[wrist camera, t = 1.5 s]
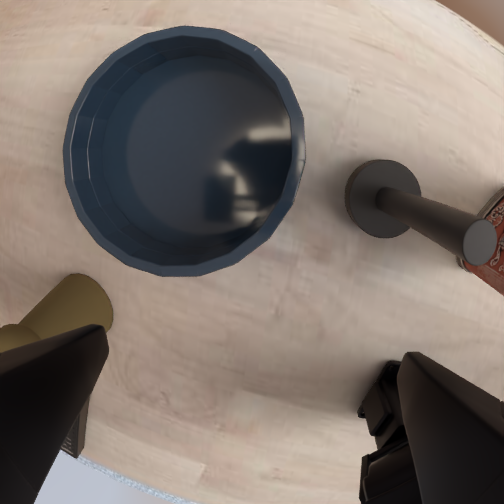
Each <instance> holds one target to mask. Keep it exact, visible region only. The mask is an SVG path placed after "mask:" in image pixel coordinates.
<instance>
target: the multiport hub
mask: <svg viewBox="0 0 504 504" xmlns="http://www.w3.org/2000/svg"><path fill="white" fill-rule="evenodd" d="M89 397H90V396H89ZM88 405H89V398H88V400H87V402H86V403H85V405H84V407H83V409H82V410H81V412H80V414H79V416H78V418H77V419H76V421H75V423H74V425H73V427H72V429H71V430H70V432H69V434H68V436H67V438H66V440H65V442H64V443H63V445H62V447H61V450H63V451H64V452H66V453H67V454H69V455H71V456H72V457H74V458H76V459H77V458H78V456H79V455H80V453H81V451H82V450H83V448H84V441H85V430H86V421H87V413H88Z"/></svg>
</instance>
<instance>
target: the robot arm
mask: <svg viewBox="0 0 504 504" xmlns="http://www.w3.org/2000/svg"><path fill="white" fill-rule="evenodd" d="M108 354H109V345H108V340H107V335H106V330H105V328H104V327H103V326H102V325H97V324H89V325H86V326H83V327H80V328H77V329H73V330H70V331H67V332H64V333H61V334H58V335H55V336H52V337H48V338H45V339H42V340H39V341H36V342H33V343H29V344H26V345H23V346H20V347H17V348H13V349H10V350H7V351H4V352H2V353H1V352H0V504H34V502H35V500H36V498H37V495H38V493H39V491H40V489H41V487H42V485H43V483H44V481H45V479H46V476H47V474H48V473H49V471H50V468H51V466H52V465H53V463H54V461H55V459H56V457H57V455H58V453H59V451H60V449H61V447H62V445H63V443H64V442H65V440H66V438H67V436H68V434H69V432H70V430H71V429H72V427H73V425H74V423H75V421H76V419H77V418H78V416H79V414H80V412H81V410H82V409H83V407H84V405H85V403H86V402H87V400H88V398H89V396H90V394H91V392H92V390H93V388H94V386H95V384H96V382H97V379H98V377H99V375H100V373H101V370H102V368H103V366H104V364H105V361H106V359H107V357H108ZM391 366H393V367H392V368H390V367H391ZM357 414H358V417H359V418H365V419H366V421H367V425H368V429H369V433H370V435H371V436H374V437H375V441H376V445H377V449H378V450H377V451H375V452H373V453H371V454H367V455H365V456H363V457H362V465H361V479H360V492H359V499H360V501H361V504H504V402H503V401H501V402H500V400H499V399H497V398H496V397H494V396H492V395H491V394H489V393H487V392H486V391H484V390H482V389H481V388H479V387H477V386H475V385H474V384H472V383H470V382H469V381H467V380H465V379H464V378H462V377H460V376H459V375H457V374H455V373H454V372H452V371H450V370H449V369H447V368H445V367H443V366H442V365H440V364H438V363H437V362H435V361H433V360H432V359H430V358H428V357H427V356H425V355H423V354H422V353H420V352H407V353H405V355H404V357H403V360H402V362H396V361H389V362H388V363H387V364H386V365H385V367H384V368H383V370H382V372H381V374H380V375H379V377H378V379H377V381H376V382H375V383H374V384H373V385H372V387H371V389H370V390H369V392H368V394H367V395H366V397H365V399H364V400H363V402H362V405H361V407H360V408H359V410H358V412H357Z"/></svg>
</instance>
